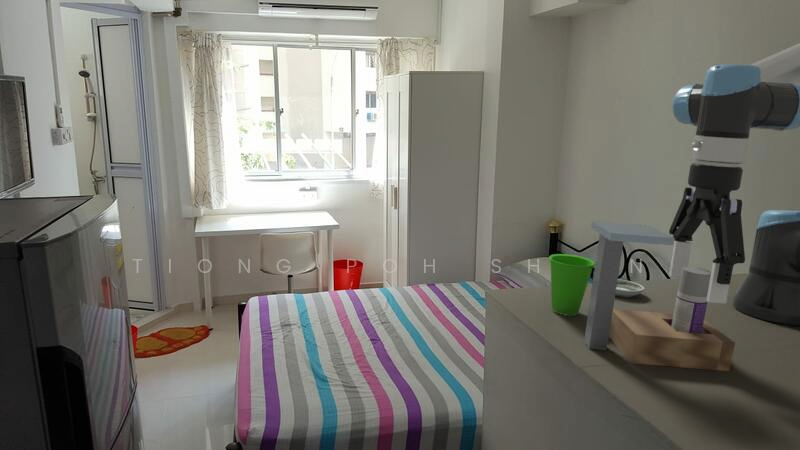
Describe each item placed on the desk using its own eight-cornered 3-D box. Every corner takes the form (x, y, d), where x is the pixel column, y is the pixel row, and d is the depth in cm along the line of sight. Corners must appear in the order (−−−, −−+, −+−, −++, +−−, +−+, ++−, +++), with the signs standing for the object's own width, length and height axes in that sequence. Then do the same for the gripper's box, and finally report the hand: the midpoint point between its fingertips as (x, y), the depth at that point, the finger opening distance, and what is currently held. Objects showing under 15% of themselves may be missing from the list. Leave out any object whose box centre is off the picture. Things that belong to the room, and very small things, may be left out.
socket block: (694, 341, 102) (698, 316, 101) (729, 371, 90) (735, 342, 89) (606, 334, 102) (610, 308, 101) (630, 363, 91) (635, 334, 90)
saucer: (630, 288, 134) (632, 278, 133) (651, 302, 124) (652, 291, 124) (592, 286, 133) (593, 276, 132) (609, 300, 124) (611, 289, 123)
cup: (533, 308, 114) (540, 257, 111) (558, 301, 120) (564, 252, 117) (572, 323, 107) (580, 268, 105) (596, 314, 113) (604, 262, 111)
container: (692, 349, 98) (707, 268, 95) (700, 360, 94) (717, 276, 91) (664, 345, 99) (678, 265, 96) (671, 356, 94) (686, 272, 91)
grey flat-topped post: (630, 338, 101) (649, 225, 97) (652, 362, 92) (674, 238, 87) (575, 333, 102) (592, 221, 97) (592, 357, 92) (610, 233, 88)
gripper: (661, 156, 102) (644, 266, 106) (735, 170, 78) (710, 313, 82) (702, 158, 102) (683, 269, 106) (790, 174, 77) (761, 316, 82)
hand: (695, 288), depth 94 cm, fingers open, 13 cm apart
